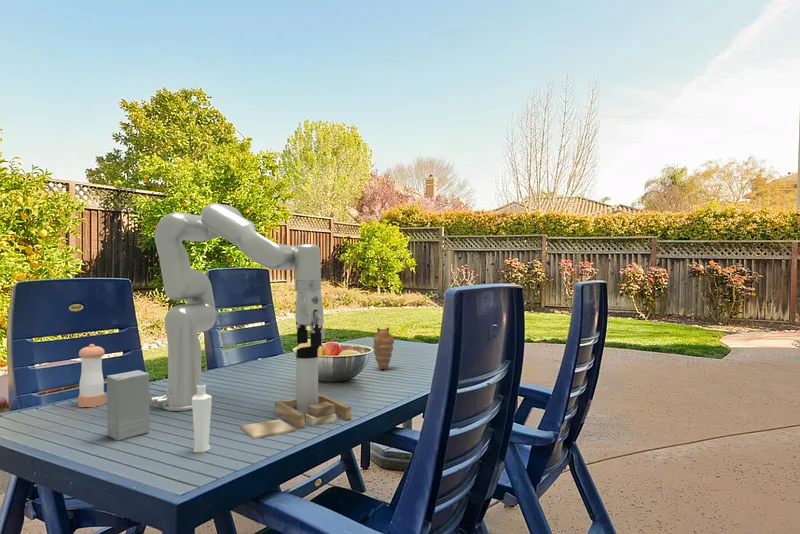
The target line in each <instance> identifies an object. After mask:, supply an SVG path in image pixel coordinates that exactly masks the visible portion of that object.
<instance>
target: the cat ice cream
mask: <svg viewBox="0 0 800 534" xmlns="http://www.w3.org/2000/svg"><path fill="white" fill-rule="evenodd" d="M394 343H395V339H394V338H393V337H392V335H391V334H390V327H389V326H388V327H387V328H379V327H376V334H375V337H374V339H373V347H372V349H374V351H373V354H374V356H375V361H376V363H377V367H378V368H379V369H380V370H381V369H385V370H386V369H388V368H389V364H390V362H391V358H392V356H393V353H392V352H393V350H394V347H393V344H394Z"/></svg>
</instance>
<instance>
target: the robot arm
mask: <svg viewBox="0 0 800 534" xmlns="http://www.w3.org/2000/svg"><path fill="white" fill-rule="evenodd" d="M220 237H221V238H223V239H225V240H226V241H228V242H230V243H231V244H233V245H234V246H237V248H238V249H239V250H240V251H241V253H242V254H244V255H245V256H246V257H247V258H249V259H250V260H252V261H254V262H255V263H257V264H259V265H261V266H262V267H264V268H266V269H269V270H272V271H273V270H274V271H291V270H294V292H295V293H296V296H295V297H296V299H295V315H294V317H295V325H296V343H297V344H299V345H300V344H308V341H310V346H311V347H319V348H320V347H322V343H323V342H322V333H323V329H322V328H323V324H324V322H325V321H324V305H323V297H322V281H321V280H322V277H321V276H322V275H321V274H322V273H321V272H322V271H321V270H322V269H321V249H320V246H319V245H317V244H311V243H310V244H308V243H307V244H305V243H303V244H298V245H289V244H281V243H276V242H273V241H272V240H270V239H269V238H266V237H265V236H263V235H261V234H260V233H259V232H257V228H256V225H255V223H254V222H253V221H251V220H249V219H247V218H246V217H244V216H243V215H242V213H241V212H240V211H239V210H238V208H236V207H234V206H231V205H226V204H222V203H217V202H213V203H209V204H207V205H205V206H203V208H202V209H201V210H200V215H198V214H192V213H187V212H169V213H167V214H166V215H164V216H162V218H161V219H160V220H159V221H158V223H157V225H156V227H155V230H154V243H155V247H156V250H157V254H158V258H159V264H160V270H161V271H160V272H161V277H162V283H163V288H164V293H165V295H166V296H167V298H168V299H170V300H173V301H186V303H181V304H177V305H175V306H173V307H171V308H170V309H169V310H168V311H167V312H166V314H165V317H164V328H165V333H166V337H167V338H166V339H167V373H168V374H167V378H168V379H167V383H168V384H167V388H168V390H167V391H165V394H162V395H159V396H158V395H157V396H151V398H150V404H157V405H158V404H162V409H163V410H165V411H169V412H171V411H172V412H173V411H174V412H181V411H182V412H183V411H191V410H192V411H193V409H192V397H193V396H195V395H196V394H197V385H202V345H201V342H200V339H199V335H198V333H202V332H206V331H209V330H211V329H212V328H213V327H214V325H215V323H216V320H217V310H216V303H215V299H214V293H213V288H212V283H211V281H210V279H209V277H208V275H207V274H206V273H204V272H203V271H202V270H201V271H200V270H196V269H192V266H191V262H190V255H189V253H188V251H187V249H186V247H185V245H184V244H183V241H190V242H206V241H210V240H213V239H216V238H220ZM308 327H309V329H310V331H311V332H310V333H308V329H307V328H308ZM308 335H310V340H309V339H308V338H309V337H308Z"/></svg>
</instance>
